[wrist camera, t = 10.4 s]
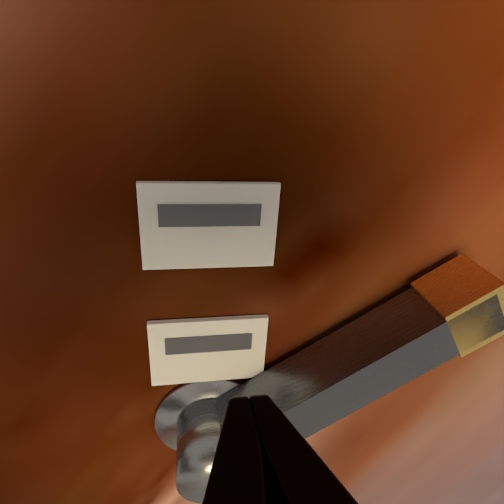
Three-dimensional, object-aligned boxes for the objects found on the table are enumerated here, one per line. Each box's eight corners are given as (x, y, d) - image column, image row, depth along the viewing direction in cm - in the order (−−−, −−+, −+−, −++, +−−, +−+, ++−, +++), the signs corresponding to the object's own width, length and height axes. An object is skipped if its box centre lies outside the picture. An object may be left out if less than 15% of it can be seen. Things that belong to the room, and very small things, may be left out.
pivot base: (157, 456, 23) (157, 460, 23) (151, 381, 21) (151, 386, 20) (255, 444, 24) (256, 449, 24) (261, 372, 22) (262, 376, 21)
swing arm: (199, 451, 23) (203, 512, 20) (163, 420, 22) (161, 480, 18) (476, 296, 21) (527, 337, 18) (460, 249, 20) (513, 284, 17)
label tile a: (151, 381, 21) (151, 387, 20) (147, 320, 19) (146, 325, 19) (261, 372, 22) (263, 377, 21) (267, 314, 20) (268, 318, 20)
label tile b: (143, 266, 18) (142, 271, 17) (136, 180, 16) (135, 183, 15) (271, 263, 19) (273, 266, 18) (279, 181, 17) (281, 184, 17)
